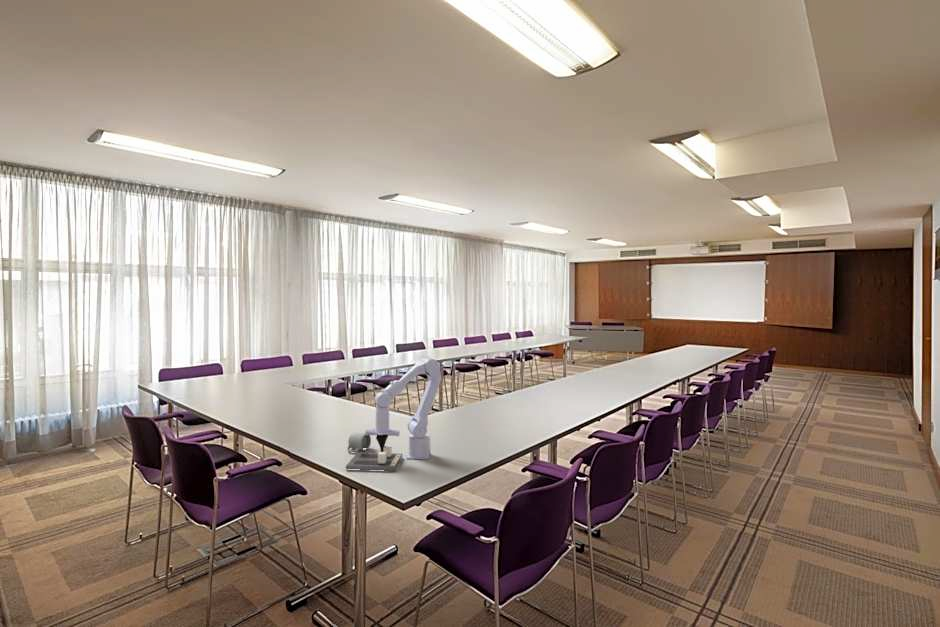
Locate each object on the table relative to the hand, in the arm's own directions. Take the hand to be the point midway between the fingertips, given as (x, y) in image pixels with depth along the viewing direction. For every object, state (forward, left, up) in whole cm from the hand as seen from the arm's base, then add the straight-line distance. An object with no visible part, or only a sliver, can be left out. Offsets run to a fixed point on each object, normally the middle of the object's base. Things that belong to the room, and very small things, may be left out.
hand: (382, 451), depth 200 cm
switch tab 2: (-2, 0, -2) cm, 3 cm away
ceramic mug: (+15, -14, -4) cm, 20 cm away
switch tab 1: (-2, +8, -2) cm, 8 cm away
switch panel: (+2, +4, -4) cm, 6 cm away
